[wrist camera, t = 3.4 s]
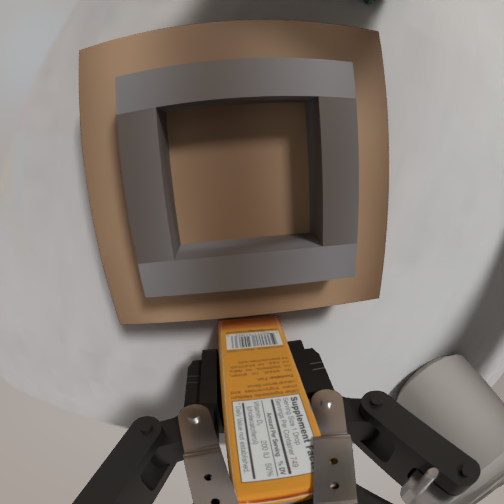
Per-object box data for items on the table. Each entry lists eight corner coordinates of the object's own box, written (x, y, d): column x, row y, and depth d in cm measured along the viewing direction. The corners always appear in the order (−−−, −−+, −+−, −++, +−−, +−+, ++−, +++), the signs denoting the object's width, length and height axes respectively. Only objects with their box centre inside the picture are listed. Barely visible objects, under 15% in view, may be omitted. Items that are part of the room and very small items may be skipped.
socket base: (349, 50, 11) (398, 20, 7) (353, 269, 15) (394, 316, 11) (107, 66, 10) (60, 40, 6) (137, 291, 14) (110, 346, 10)
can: (417, 348, 18) (508, 475, 6) (474, 346, 19) (552, 436, 8) (373, 418, 20) (426, 534, 9) (433, 408, 21) (488, 498, 10)
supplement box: (281, 359, 16) (322, 519, 7) (221, 363, 16) (227, 530, 7) (284, 311, 15) (343, 489, 6) (217, 315, 15) (217, 505, 6)
